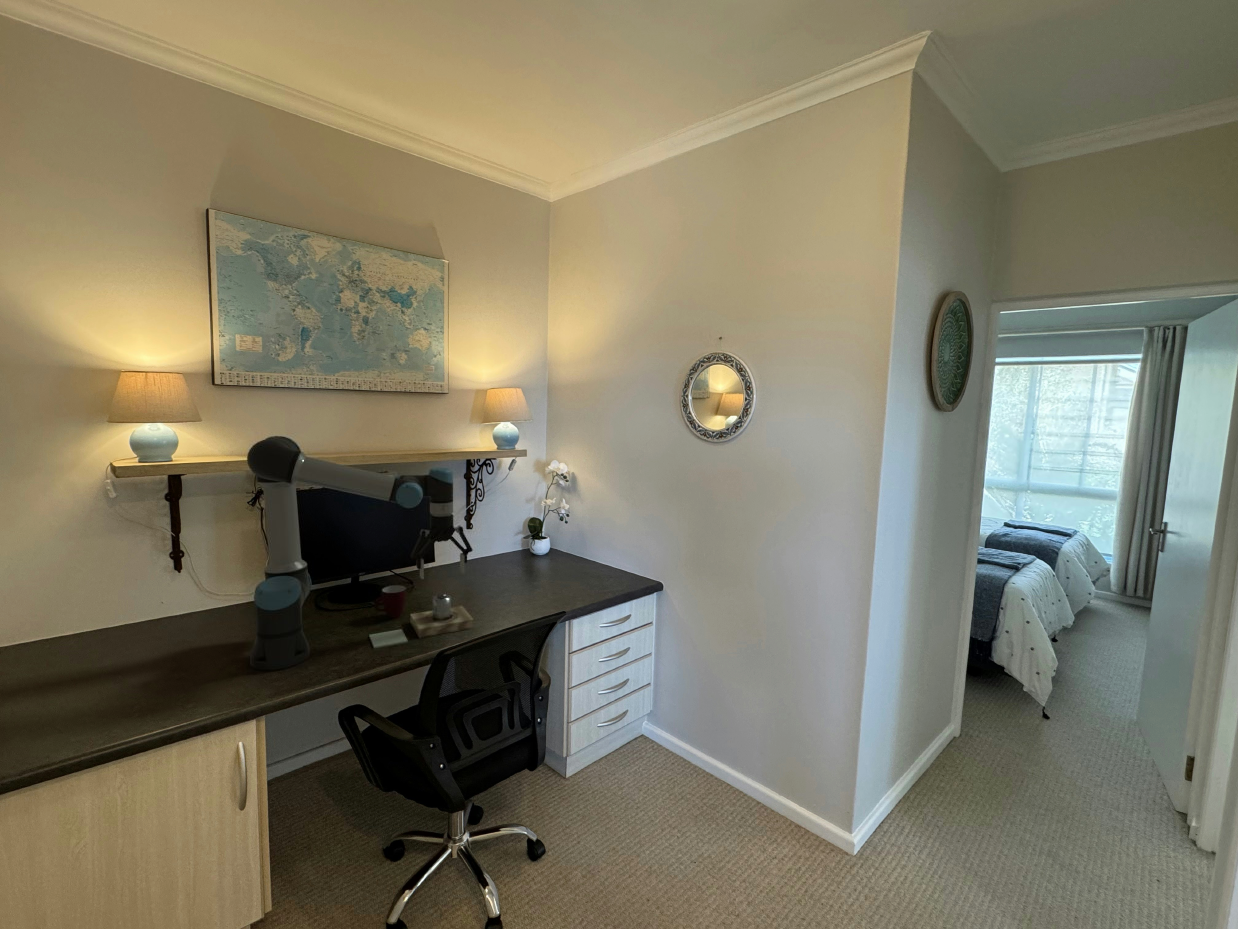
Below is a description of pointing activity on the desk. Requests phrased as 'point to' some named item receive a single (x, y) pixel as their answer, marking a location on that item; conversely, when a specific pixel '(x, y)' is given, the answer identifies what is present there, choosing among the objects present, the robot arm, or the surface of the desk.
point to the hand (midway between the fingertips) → (442, 575)
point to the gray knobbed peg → (441, 607)
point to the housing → (441, 622)
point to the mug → (392, 600)
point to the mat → (388, 638)
